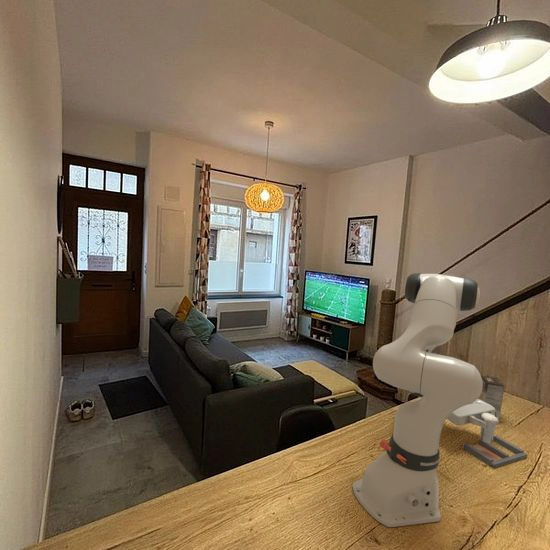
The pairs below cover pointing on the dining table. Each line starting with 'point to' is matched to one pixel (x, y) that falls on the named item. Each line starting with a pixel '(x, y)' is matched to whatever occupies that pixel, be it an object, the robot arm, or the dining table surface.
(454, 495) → the dining table surface
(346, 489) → the dining table surface
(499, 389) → the coffee box
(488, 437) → the milkshake
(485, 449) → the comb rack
